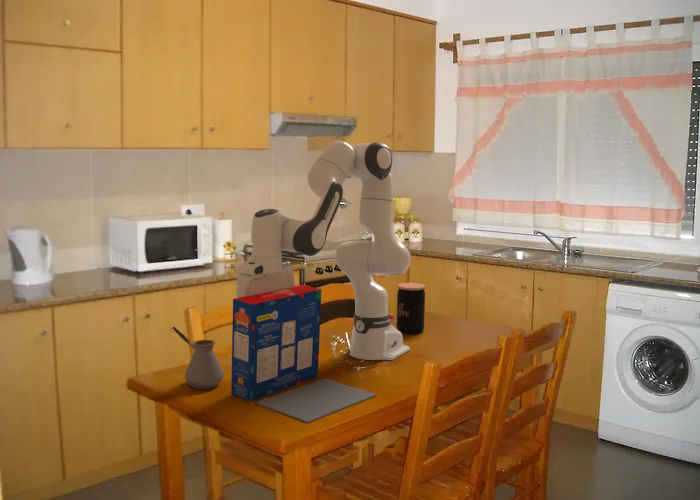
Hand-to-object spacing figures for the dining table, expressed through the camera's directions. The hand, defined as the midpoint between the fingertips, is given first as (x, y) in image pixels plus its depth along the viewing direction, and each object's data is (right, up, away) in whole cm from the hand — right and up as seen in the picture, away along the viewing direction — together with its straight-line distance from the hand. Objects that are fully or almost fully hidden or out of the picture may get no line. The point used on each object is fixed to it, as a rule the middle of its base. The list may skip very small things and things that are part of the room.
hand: (266, 310), depth 213 cm
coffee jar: (+48, -14, +65) cm, 82 cm away
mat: (+16, -24, -10) cm, 31 cm away
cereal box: (+3, -22, +1) cm, 23 cm away
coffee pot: (-22, -22, +4) cm, 31 cm away
